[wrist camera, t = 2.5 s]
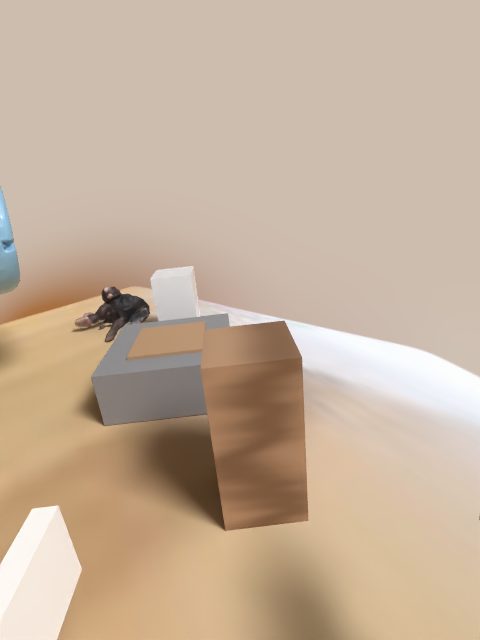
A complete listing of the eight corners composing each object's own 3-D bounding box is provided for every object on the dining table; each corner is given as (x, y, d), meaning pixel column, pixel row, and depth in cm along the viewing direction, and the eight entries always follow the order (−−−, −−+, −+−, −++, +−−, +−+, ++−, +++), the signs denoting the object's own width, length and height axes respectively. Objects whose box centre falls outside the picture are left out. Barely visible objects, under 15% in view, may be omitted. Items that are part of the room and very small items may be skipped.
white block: (162, 345, 48) (150, 279, 45) (167, 330, 53) (156, 270, 49) (200, 340, 48) (190, 274, 45) (201, 326, 53) (193, 266, 49)
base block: (104, 425, 33) (89, 374, 31) (133, 363, 44) (124, 322, 42) (237, 410, 33) (231, 358, 31) (232, 352, 44) (227, 311, 42)
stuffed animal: (128, 298, 67) (146, 268, 57) (150, 346, 66) (172, 324, 56) (62, 316, 60) (69, 286, 50) (84, 370, 59) (97, 350, 49)
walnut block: (225, 530, 22) (200, 368, 18) (224, 468, 26) (204, 329, 22) (308, 520, 22) (301, 357, 18) (292, 460, 26) (284, 320, 22)
